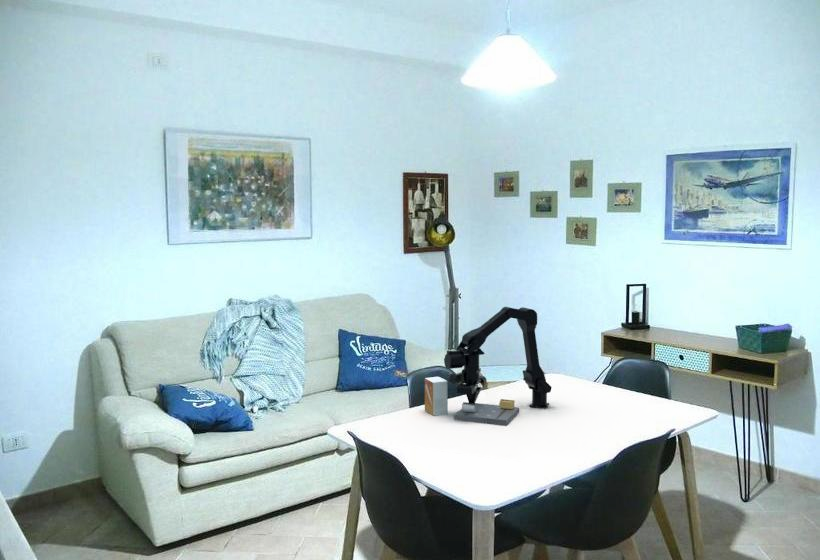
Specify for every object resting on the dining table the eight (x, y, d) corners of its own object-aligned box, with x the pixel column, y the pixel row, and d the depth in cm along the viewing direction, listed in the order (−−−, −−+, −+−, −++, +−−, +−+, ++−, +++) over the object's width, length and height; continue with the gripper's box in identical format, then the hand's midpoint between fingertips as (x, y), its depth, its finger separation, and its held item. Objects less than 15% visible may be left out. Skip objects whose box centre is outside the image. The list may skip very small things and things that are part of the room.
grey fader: (464, 408, 276) (464, 401, 275) (477, 410, 274) (477, 402, 273) (461, 410, 273) (461, 403, 272) (474, 412, 271) (474, 404, 271)
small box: (424, 410, 283) (424, 377, 281) (439, 408, 285) (438, 376, 284) (433, 416, 275) (432, 382, 274) (448, 414, 278) (447, 380, 276)
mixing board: (469, 407, 286) (469, 402, 286) (519, 412, 278) (519, 407, 278) (454, 419, 270) (454, 414, 269) (506, 425, 262) (506, 420, 262)
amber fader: (501, 405, 279) (501, 398, 279) (514, 407, 277) (514, 399, 277) (499, 407, 276) (499, 400, 276) (512, 409, 274) (512, 401, 274)
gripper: (459, 360, 286) (459, 398, 287) (442, 370, 269) (443, 411, 270) (486, 362, 281) (486, 401, 283) (471, 372, 264) (471, 414, 266)
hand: (471, 406), depth 276 cm, fingers closed
